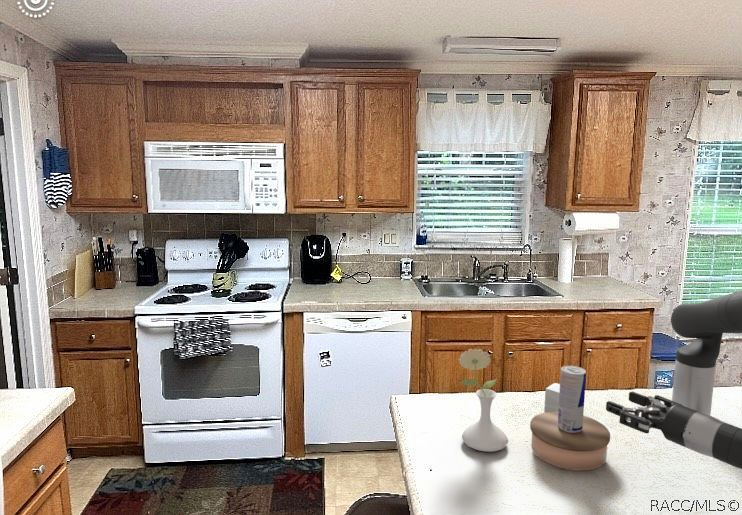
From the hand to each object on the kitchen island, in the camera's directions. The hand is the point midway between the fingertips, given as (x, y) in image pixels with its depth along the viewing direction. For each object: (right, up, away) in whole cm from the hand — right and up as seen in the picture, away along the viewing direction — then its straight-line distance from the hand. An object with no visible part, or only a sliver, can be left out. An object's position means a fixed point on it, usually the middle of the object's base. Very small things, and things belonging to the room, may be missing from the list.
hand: (618, 400), depth 117 cm
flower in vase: (-27, -16, +17) cm, 36 cm away
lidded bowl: (-7, -17, +11) cm, 21 cm away
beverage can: (-7, -10, +10) cm, 16 cm away
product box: (-1, -13, +34) cm, 37 cm away
